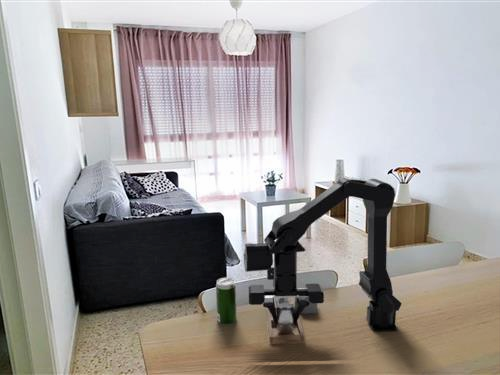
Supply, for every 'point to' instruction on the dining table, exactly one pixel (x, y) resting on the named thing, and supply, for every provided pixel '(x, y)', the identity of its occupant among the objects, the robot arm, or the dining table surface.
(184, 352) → the dining table surface
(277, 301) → the seated billet
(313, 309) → the grey square block
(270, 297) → the robot arm
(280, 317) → the billet
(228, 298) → the green soda can
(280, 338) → the pallet
